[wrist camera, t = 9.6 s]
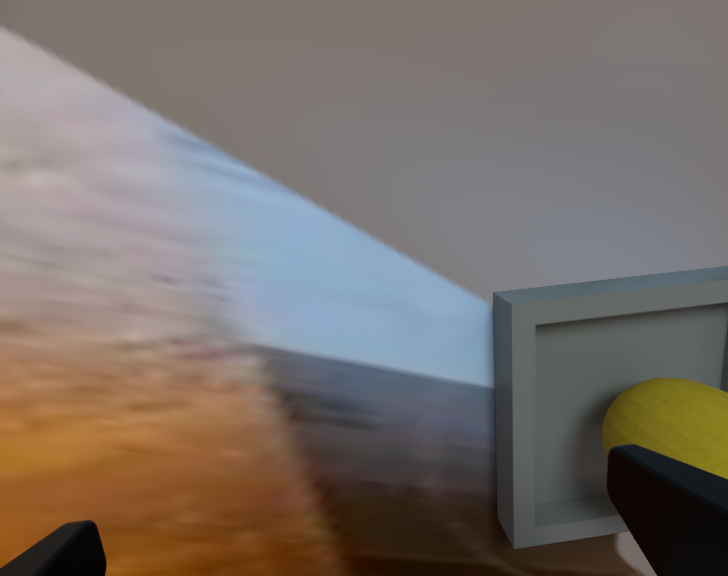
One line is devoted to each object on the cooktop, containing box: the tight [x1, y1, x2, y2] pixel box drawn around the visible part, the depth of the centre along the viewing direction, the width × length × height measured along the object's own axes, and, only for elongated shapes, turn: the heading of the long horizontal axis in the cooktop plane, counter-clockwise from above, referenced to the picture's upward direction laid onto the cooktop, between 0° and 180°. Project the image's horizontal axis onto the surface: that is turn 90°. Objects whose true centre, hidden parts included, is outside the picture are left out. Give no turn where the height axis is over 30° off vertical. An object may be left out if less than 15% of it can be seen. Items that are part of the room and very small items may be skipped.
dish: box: [493, 266, 728, 549], centre depth 21 cm, size 12×12×2 cm
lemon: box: [602, 378, 728, 479], centre depth 17 cm, size 6×6×8 cm
